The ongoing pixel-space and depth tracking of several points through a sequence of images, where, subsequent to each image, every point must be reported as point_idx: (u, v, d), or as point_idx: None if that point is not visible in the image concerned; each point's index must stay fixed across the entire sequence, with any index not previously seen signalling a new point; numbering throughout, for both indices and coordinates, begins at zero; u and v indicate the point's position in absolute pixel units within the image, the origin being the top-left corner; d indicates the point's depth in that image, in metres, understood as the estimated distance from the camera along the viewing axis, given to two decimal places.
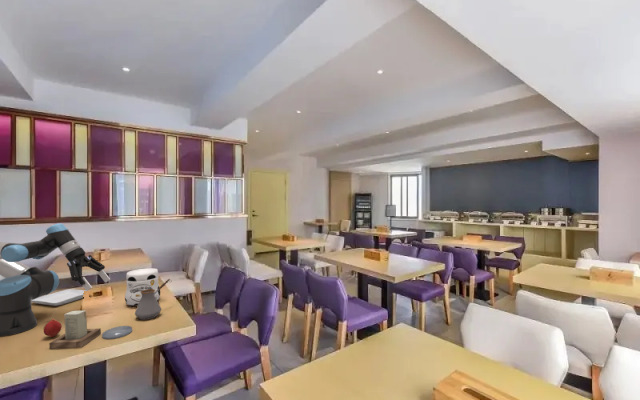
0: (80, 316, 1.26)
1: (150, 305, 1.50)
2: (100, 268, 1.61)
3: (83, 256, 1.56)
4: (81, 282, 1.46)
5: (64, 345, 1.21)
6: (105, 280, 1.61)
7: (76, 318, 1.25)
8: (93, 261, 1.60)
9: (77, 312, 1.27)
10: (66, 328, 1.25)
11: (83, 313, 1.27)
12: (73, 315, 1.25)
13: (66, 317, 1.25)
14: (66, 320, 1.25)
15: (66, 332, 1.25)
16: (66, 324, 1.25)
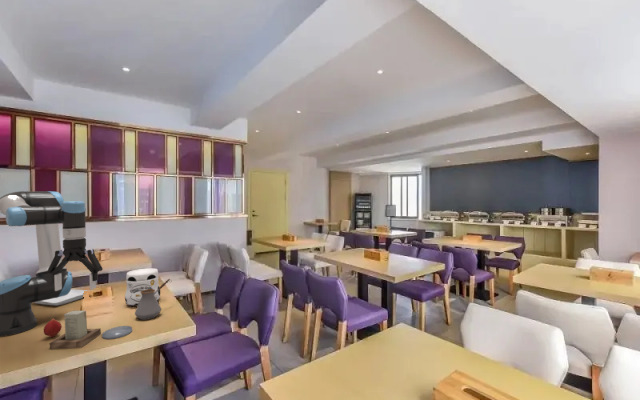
0: (80, 316, 1.26)
1: (150, 305, 1.50)
2: None
3: (78, 249, 1.26)
4: None
5: (64, 345, 1.21)
6: None
7: (76, 318, 1.25)
8: None
9: (77, 312, 1.27)
10: (66, 328, 1.25)
11: (83, 313, 1.27)
12: (73, 315, 1.25)
13: (66, 317, 1.25)
14: (66, 320, 1.25)
15: (66, 332, 1.25)
16: (66, 324, 1.25)
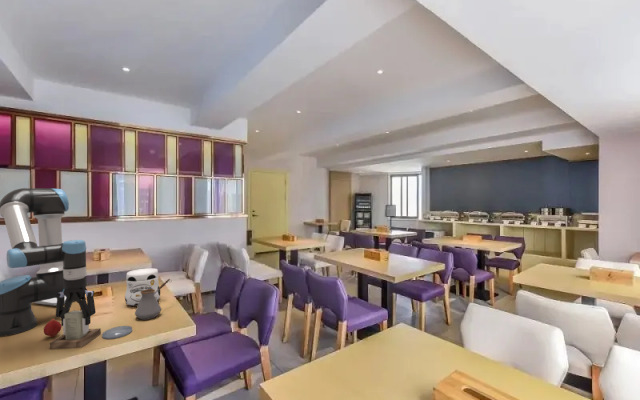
0: (80, 316, 1.26)
1: (150, 305, 1.50)
2: (83, 314, 1.26)
3: (79, 288, 1.26)
4: None
5: (64, 345, 1.21)
6: None
7: (76, 318, 1.25)
8: None
9: (77, 312, 1.27)
10: (66, 328, 1.25)
11: None
12: (73, 315, 1.25)
13: (66, 317, 1.25)
14: (66, 320, 1.25)
15: (66, 332, 1.25)
16: (66, 324, 1.25)
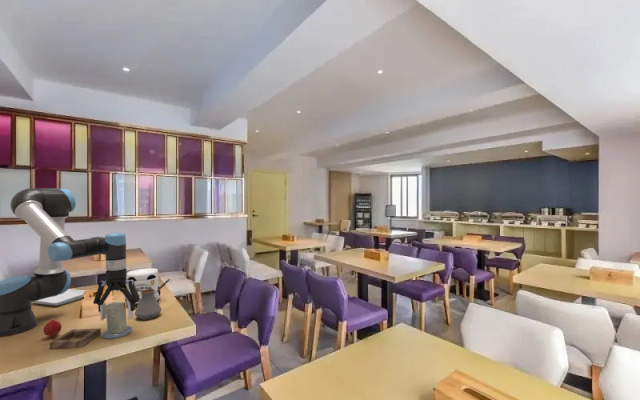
0: (121, 307, 1.33)
1: (150, 305, 1.50)
2: (129, 301, 1.33)
3: (120, 279, 1.33)
4: None
5: (64, 345, 1.21)
6: None
7: (117, 309, 1.32)
8: None
9: (118, 303, 1.34)
10: (107, 318, 1.32)
11: (123, 304, 1.34)
12: (114, 306, 1.32)
13: (108, 308, 1.32)
14: (108, 311, 1.32)
15: (107, 322, 1.32)
16: (107, 315, 1.32)
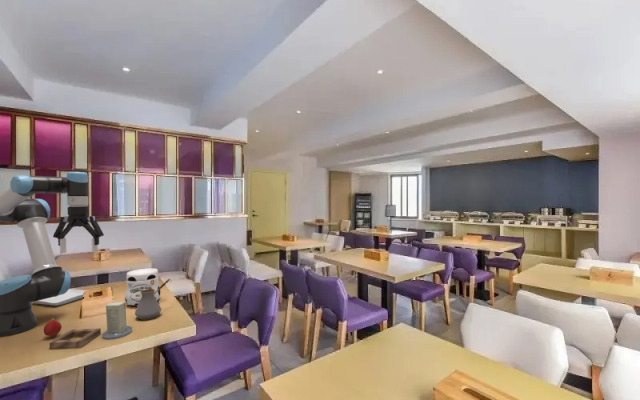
0: (121, 307, 1.33)
1: (150, 305, 1.50)
2: None
3: (81, 216, 1.38)
4: None
5: (64, 345, 1.21)
6: None
7: (117, 309, 1.32)
8: None
9: (118, 303, 1.34)
10: (107, 318, 1.32)
11: (123, 304, 1.34)
12: (114, 306, 1.32)
13: (108, 308, 1.32)
14: (108, 311, 1.32)
15: (107, 322, 1.32)
16: (107, 315, 1.32)
